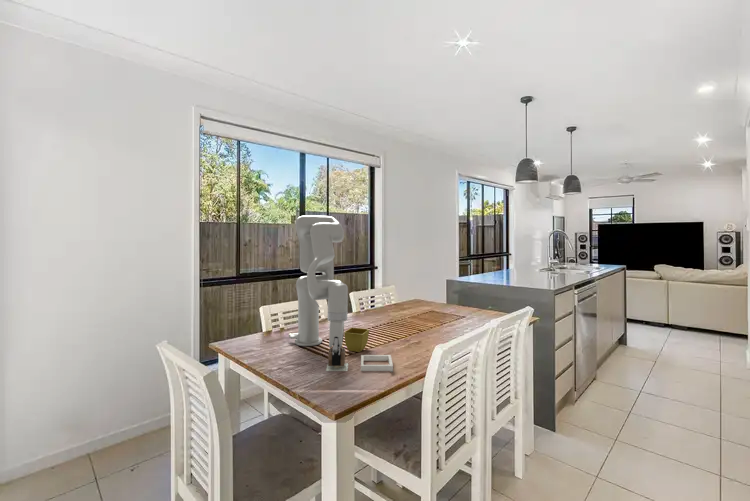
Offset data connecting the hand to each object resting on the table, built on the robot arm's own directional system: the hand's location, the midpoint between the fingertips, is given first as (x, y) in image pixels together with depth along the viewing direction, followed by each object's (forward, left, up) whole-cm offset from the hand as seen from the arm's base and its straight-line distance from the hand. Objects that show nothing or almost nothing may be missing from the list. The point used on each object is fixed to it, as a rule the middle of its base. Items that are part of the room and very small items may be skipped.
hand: (336, 361), depth 140 cm
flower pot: (+7, +21, -3) cm, 22 cm away
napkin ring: (0, 0, -1) cm, 1 cm away
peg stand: (0, -1, -3) cm, 3 cm away
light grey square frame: (+15, +2, -3) cm, 16 cm away
